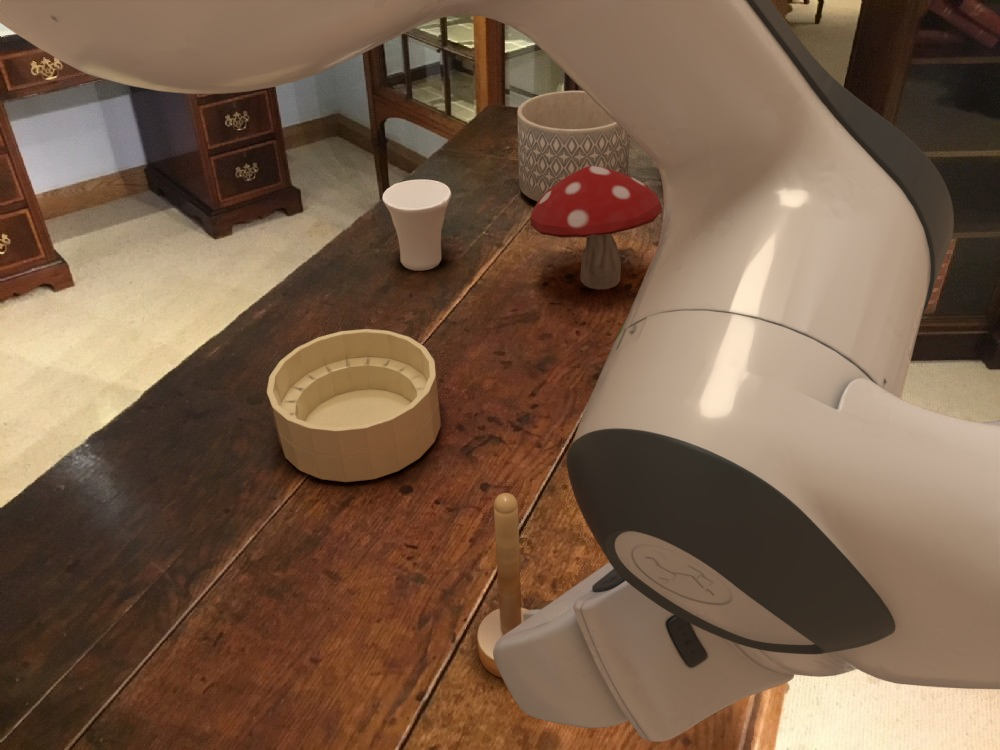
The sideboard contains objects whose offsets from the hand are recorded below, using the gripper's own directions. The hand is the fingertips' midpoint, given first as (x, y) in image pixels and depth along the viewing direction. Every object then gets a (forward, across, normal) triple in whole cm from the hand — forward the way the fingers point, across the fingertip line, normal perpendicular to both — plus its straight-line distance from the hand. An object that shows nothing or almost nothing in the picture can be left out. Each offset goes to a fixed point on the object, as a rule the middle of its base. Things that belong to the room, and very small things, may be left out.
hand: (598, 578), depth 50 cm
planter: (+59, -59, -35) cm, 90 cm away
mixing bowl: (+39, -5, -16) cm, 43 cm away
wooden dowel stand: (+18, 0, +6) cm, 19 cm away
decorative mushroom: (+44, -43, -20) cm, 64 cm away
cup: (+57, -30, -33) cm, 72 cm away
